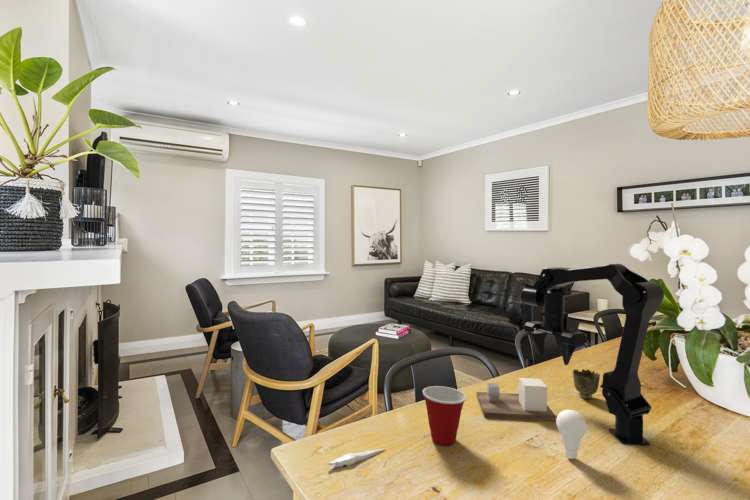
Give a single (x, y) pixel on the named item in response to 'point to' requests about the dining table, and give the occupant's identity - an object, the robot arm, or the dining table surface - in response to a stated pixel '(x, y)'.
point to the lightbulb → (571, 431)
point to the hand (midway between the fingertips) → (553, 360)
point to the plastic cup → (443, 413)
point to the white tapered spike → (352, 458)
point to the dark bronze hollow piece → (586, 383)
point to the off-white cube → (532, 394)
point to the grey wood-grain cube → (492, 392)
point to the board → (511, 408)
